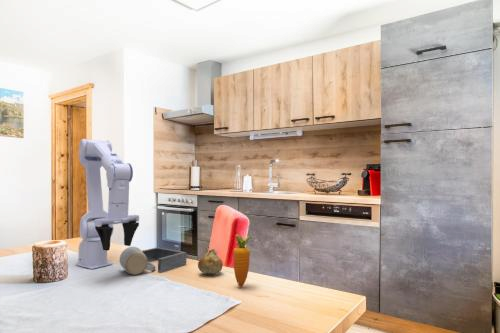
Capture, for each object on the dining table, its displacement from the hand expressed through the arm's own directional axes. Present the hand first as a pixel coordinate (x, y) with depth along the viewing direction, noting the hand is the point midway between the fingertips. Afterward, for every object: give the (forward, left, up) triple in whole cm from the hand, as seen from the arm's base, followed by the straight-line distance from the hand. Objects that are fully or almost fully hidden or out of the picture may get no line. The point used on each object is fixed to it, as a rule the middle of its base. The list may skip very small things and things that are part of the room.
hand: (117, 247), depth 101 cm
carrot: (+35, +15, -10) cm, 39 cm away
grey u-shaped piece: (-1, +18, -9) cm, 20 cm away
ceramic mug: (-1, +9, -10) cm, 13 cm away
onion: (+20, +20, -10) cm, 30 cm away
